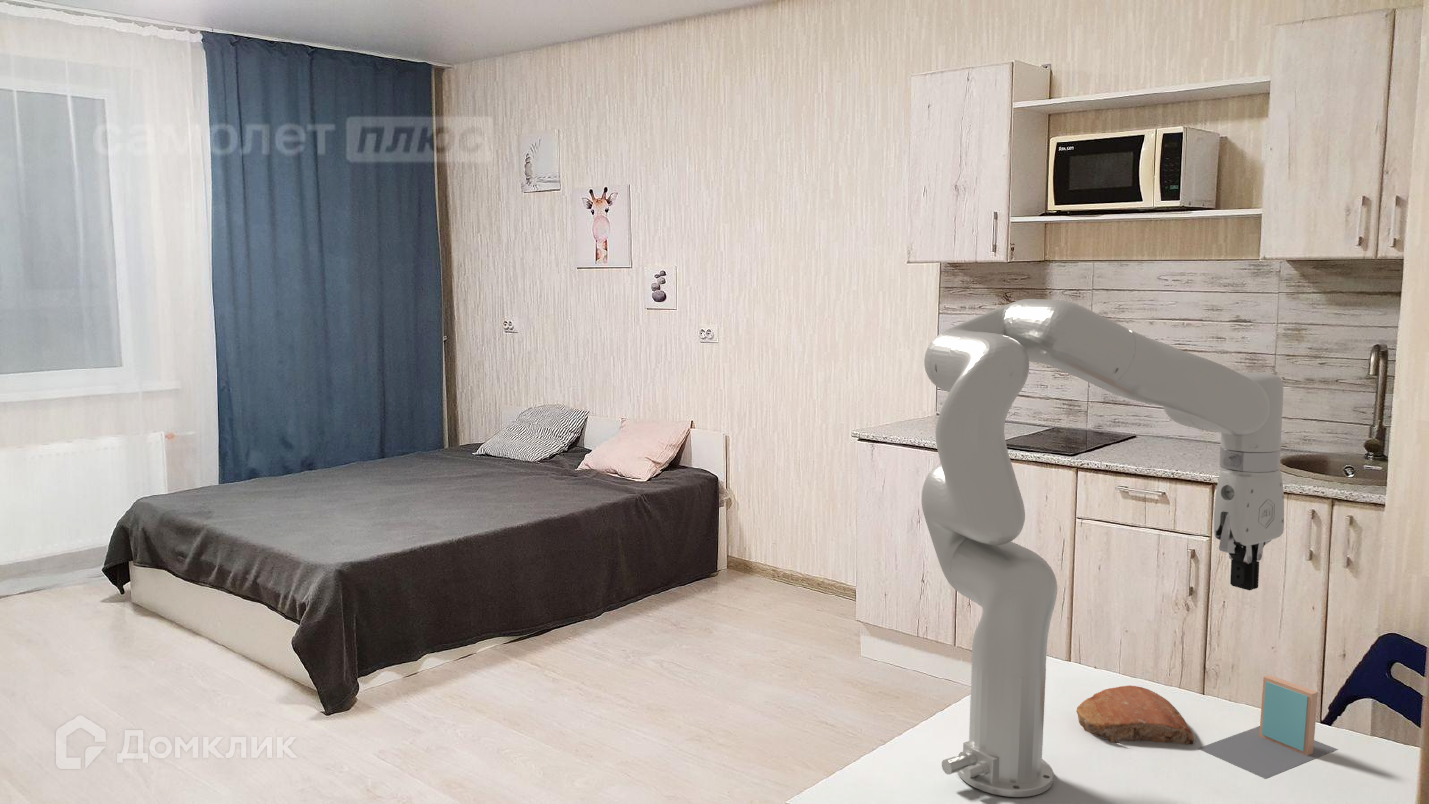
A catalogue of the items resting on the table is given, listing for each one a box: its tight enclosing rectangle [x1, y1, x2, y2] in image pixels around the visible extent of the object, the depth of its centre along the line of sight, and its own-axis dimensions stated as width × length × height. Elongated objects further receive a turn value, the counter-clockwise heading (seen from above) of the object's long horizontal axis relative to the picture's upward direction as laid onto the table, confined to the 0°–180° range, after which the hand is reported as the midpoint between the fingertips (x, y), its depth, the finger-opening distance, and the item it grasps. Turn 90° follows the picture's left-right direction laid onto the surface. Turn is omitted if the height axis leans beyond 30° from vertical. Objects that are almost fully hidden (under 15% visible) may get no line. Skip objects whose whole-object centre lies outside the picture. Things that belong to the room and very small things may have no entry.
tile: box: [1259, 674, 1319, 756], centre depth 145 cm, size 2×7×9 cm, turn 30°
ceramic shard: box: [1075, 685, 1196, 746], centre depth 153 cm, size 15×6×15 cm
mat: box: [1197, 725, 1339, 780], centre depth 145 cm, size 17×10×1 cm, turn 120°
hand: (1244, 586), depth 146 cm, fingers closed
